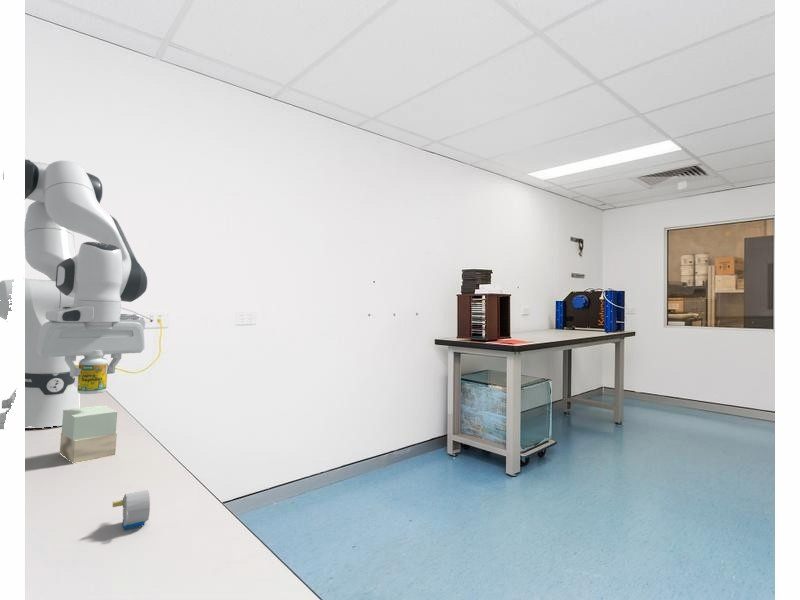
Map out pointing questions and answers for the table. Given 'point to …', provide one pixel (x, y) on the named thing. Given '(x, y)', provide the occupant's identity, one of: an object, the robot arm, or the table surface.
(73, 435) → the tower top block
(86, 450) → the tower bottom block
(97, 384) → the supplement bottle
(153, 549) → the table surface
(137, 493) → the electric motor
